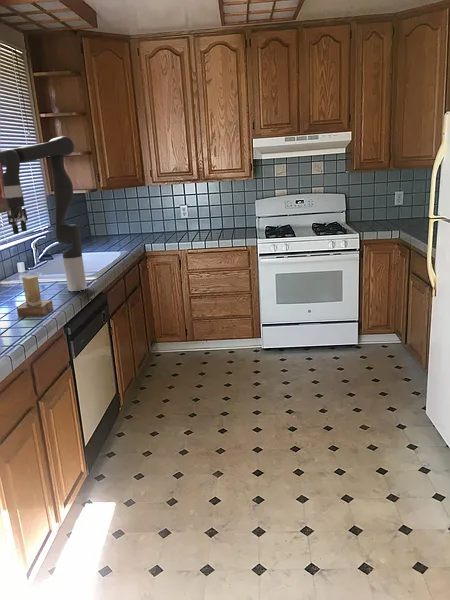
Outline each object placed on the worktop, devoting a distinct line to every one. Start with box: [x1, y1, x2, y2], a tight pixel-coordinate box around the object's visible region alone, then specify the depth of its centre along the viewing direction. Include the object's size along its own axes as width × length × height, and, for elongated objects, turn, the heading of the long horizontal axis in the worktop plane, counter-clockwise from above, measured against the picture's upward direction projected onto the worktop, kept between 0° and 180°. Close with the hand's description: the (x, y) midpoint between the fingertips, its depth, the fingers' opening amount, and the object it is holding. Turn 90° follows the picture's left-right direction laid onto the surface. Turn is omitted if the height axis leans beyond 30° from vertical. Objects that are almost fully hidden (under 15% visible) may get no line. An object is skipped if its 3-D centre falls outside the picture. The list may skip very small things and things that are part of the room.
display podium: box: [16, 299, 54, 318], centre depth 220 cm, size 11×11×4 cm
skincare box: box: [21, 275, 42, 306], centre depth 218 cm, size 6×4×12 cm
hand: (20, 232), depth 231 cm, fingers open, 8 cm apart
